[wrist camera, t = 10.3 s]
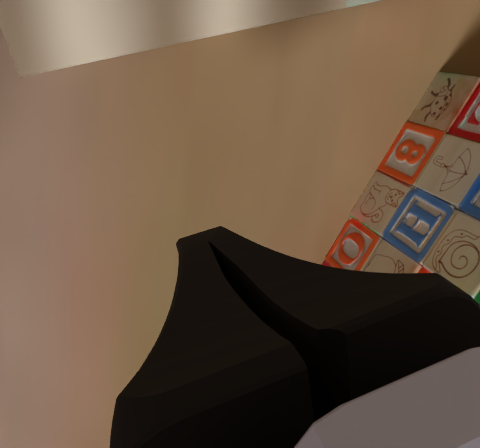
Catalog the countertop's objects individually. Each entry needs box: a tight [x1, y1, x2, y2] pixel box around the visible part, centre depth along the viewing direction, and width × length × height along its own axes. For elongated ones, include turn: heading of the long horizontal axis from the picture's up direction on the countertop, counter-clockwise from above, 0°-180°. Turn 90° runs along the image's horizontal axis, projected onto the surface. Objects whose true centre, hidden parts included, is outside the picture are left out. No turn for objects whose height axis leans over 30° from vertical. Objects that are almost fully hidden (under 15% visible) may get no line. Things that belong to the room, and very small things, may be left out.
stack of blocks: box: [322, 72, 480, 305], centre depth 22 cm, size 21×6×12 cm, turn 150°
